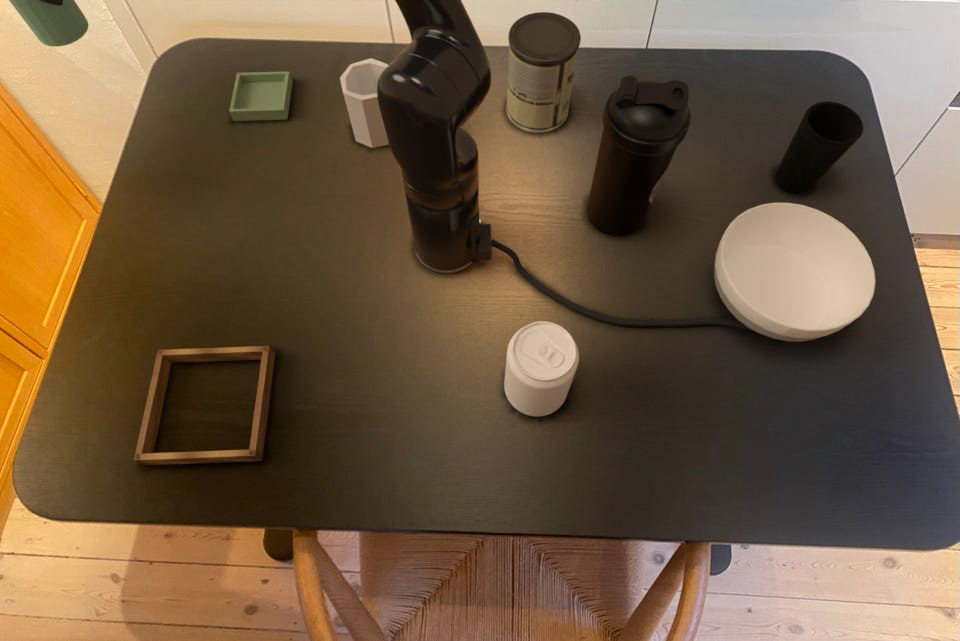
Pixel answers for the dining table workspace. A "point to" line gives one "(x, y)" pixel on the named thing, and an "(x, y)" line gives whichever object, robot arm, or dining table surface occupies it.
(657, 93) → the water bottle
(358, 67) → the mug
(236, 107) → the tray
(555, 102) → the coffee can
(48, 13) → the bottle
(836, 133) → the cup
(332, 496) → the dining table surface
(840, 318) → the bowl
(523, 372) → the beverage can
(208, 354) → the wooden square frame
